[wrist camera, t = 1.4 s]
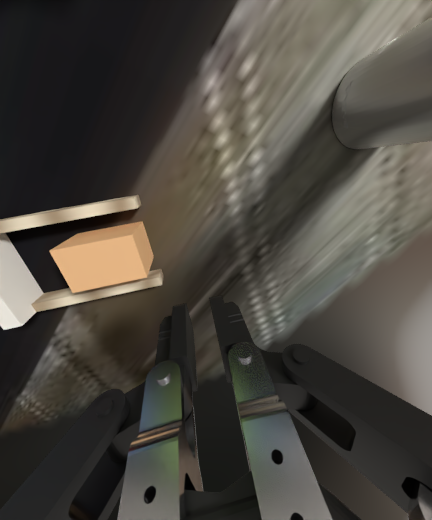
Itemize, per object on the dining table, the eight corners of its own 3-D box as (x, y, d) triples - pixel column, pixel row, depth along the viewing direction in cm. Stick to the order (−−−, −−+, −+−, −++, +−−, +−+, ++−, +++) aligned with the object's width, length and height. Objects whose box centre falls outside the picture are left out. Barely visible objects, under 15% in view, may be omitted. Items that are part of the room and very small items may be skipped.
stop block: (-3, 219, 23) (-49, 232, 18) (48, 300, 28) (22, 325, 23) (-22, 223, 23) (-72, 236, 18) (33, 303, 27) (3, 329, 23)
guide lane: (138, 194, 24) (133, 197, 22) (163, 276, 29) (161, 284, 27) (-3, 219, 23) (-24, 225, 21) (48, 300, 28) (36, 312, 25)
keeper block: (142, 221, 26) (132, 234, 20) (153, 256, 28) (147, 277, 22) (77, 233, 25) (49, 250, 19) (94, 268, 27) (72, 293, 22)
